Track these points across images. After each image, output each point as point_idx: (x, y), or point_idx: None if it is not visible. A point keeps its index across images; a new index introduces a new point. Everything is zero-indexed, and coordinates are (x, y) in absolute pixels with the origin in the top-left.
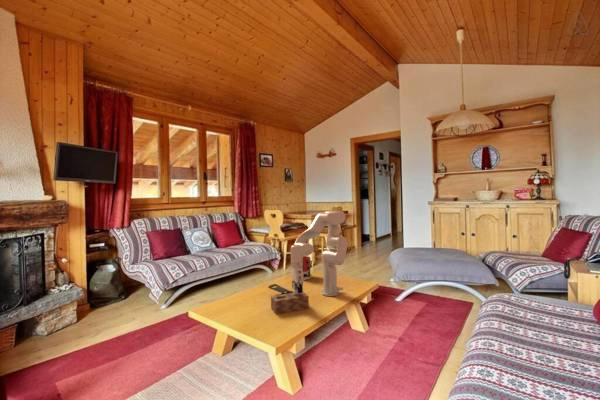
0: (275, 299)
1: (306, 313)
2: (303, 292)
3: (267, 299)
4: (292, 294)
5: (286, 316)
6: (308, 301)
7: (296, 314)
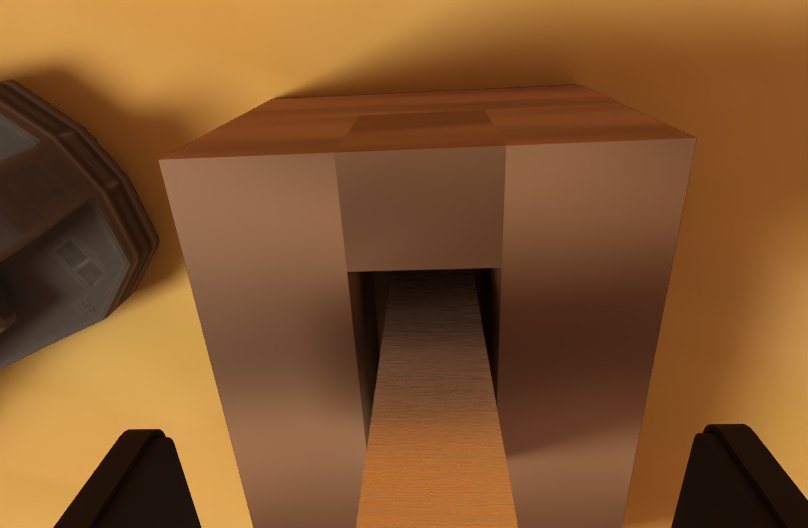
0: None
1: (760, 204)
2: (287, 176)
3: (11, 513)
4: (352, 473)
5: (671, 468)
6: (627, 109)
7: (693, 349)
